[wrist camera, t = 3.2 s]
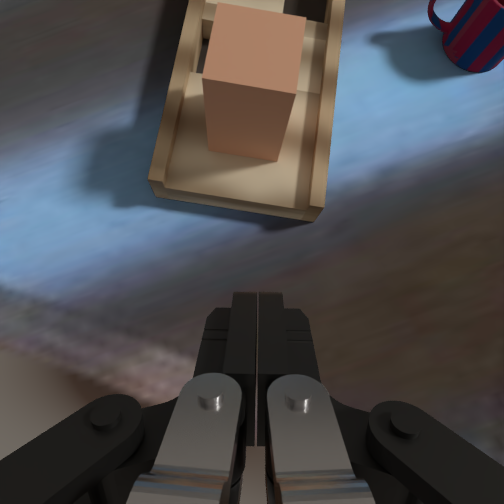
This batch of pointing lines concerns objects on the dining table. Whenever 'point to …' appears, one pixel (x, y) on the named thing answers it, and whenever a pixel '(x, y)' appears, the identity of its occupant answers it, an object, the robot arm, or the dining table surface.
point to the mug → (473, 34)
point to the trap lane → (240, 167)
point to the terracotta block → (251, 80)
